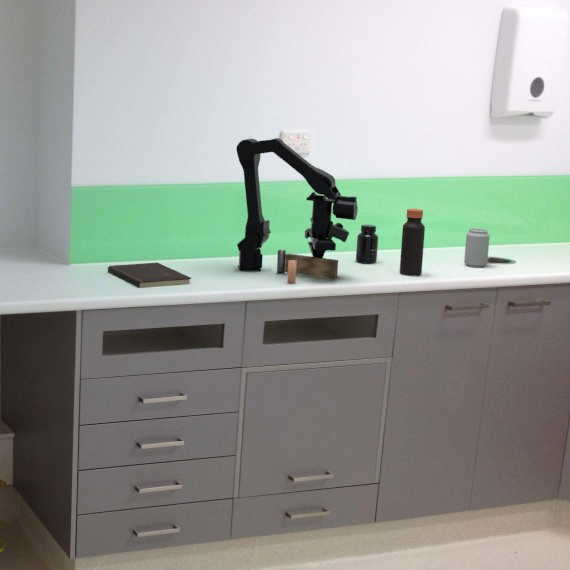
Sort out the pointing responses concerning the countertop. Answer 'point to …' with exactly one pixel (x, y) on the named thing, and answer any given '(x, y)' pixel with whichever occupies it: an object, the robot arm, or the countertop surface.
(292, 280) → the catch post
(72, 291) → the countertop surface
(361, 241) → the supplement bottle
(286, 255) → the brown long plank slab
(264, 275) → the countertop surface
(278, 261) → the hinge post
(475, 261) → the can
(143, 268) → the hardcover book
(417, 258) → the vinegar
